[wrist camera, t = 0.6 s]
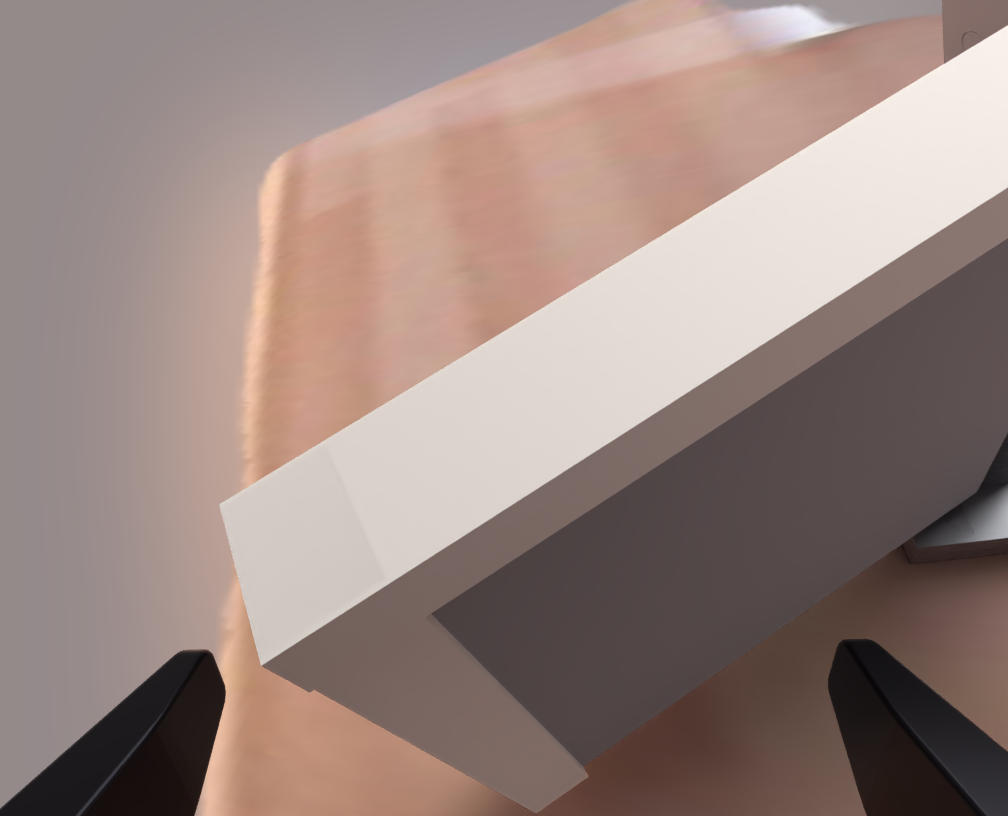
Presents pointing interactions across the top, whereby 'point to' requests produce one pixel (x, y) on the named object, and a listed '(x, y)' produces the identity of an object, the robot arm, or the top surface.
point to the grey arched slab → (970, 23)
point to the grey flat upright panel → (657, 454)
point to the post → (969, 522)
